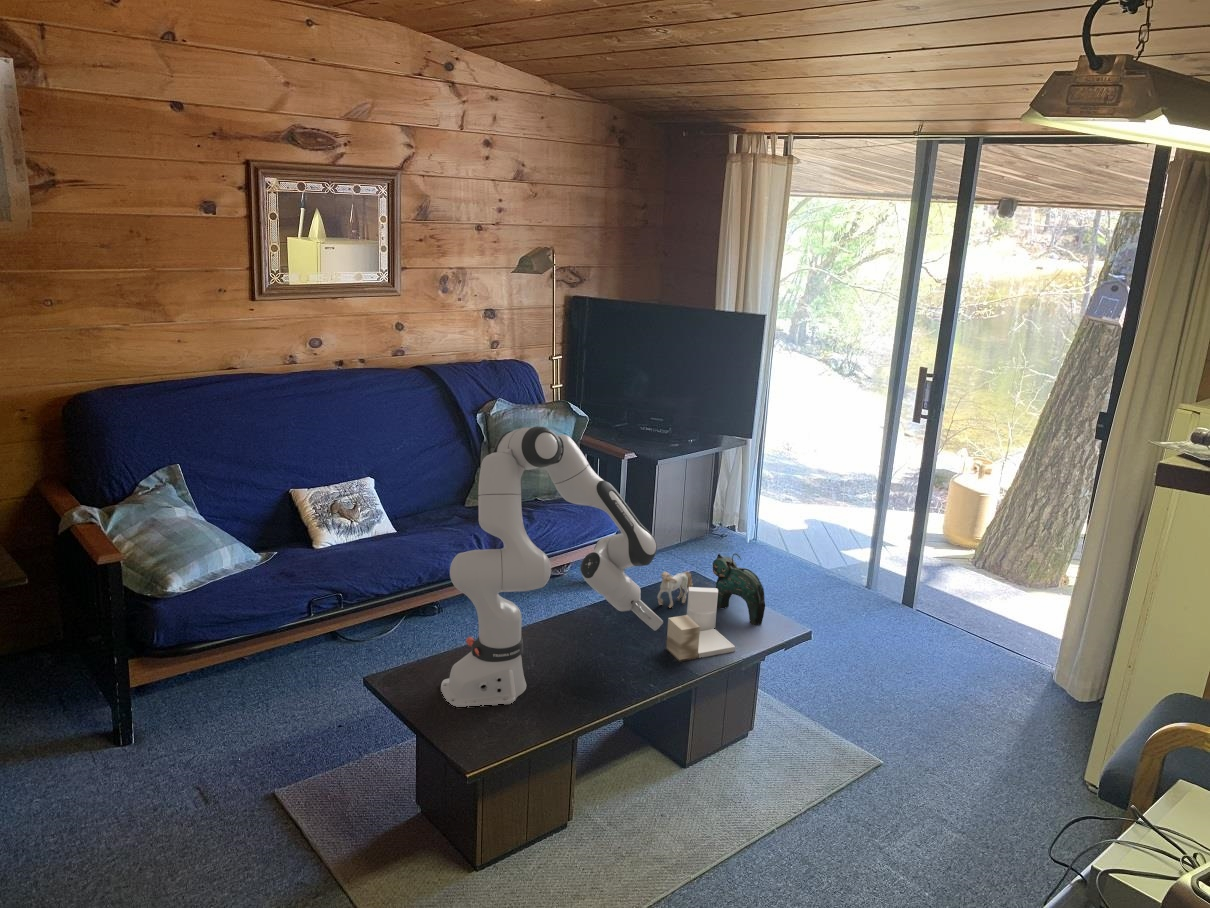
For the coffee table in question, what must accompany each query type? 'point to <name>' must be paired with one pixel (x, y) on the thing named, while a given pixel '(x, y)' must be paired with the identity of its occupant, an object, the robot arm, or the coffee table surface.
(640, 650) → the coffee table surface
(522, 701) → the coffee table surface
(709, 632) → the board
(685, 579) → the unicorn figurine
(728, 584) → the ceramic cat
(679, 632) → the birch block
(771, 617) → the coffee table surface
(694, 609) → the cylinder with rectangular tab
